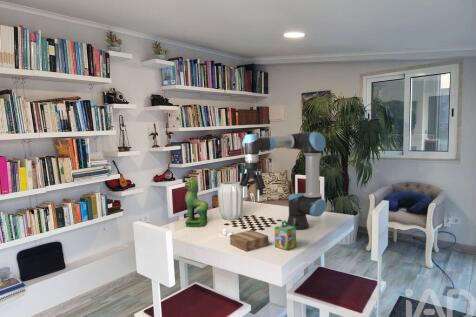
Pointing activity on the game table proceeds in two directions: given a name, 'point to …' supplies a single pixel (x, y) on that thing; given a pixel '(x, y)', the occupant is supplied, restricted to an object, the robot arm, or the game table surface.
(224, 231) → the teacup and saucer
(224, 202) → the vase
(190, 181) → the lion statue
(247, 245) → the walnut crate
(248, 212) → the game table surface
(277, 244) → the chalk box
